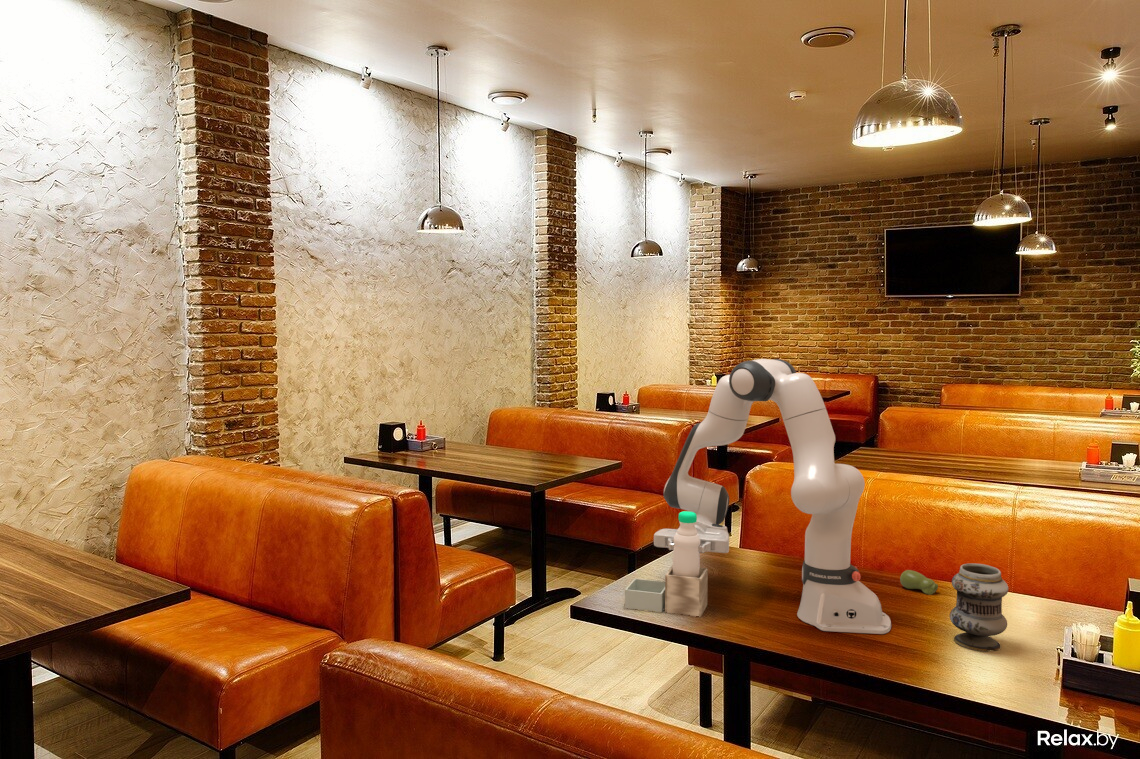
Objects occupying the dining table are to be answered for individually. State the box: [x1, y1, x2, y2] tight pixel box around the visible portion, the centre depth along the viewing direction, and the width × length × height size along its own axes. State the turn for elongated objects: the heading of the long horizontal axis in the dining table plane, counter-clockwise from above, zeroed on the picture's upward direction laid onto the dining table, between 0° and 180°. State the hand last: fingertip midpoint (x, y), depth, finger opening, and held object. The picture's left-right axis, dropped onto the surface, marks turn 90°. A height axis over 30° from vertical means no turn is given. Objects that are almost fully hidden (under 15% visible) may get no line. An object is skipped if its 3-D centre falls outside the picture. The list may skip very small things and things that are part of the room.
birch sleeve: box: [664, 564, 708, 618], centre depth 209 cm, size 9×9×10 cm
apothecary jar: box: [949, 562, 1009, 652], centre depth 186 cm, size 12×12×18 cm
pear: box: [899, 569, 939, 596], centre depth 223 cm, size 6×5×10 cm
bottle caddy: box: [624, 577, 665, 613], centre depth 213 cm, size 10×10×5 cm
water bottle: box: [672, 510, 701, 578], centre depth 209 cm, size 7×7×25 cm
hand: (686, 548), depth 207 cm, fingers closed on water bottle, 6 cm apart
